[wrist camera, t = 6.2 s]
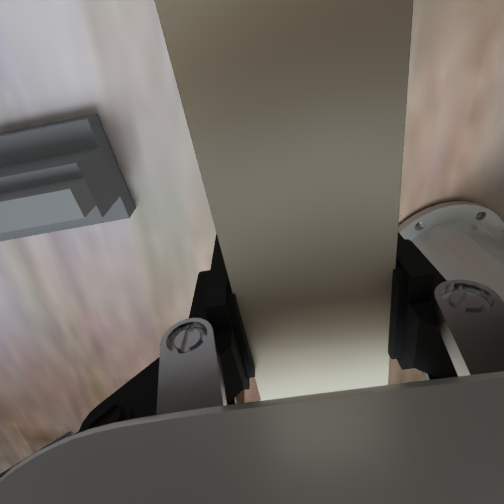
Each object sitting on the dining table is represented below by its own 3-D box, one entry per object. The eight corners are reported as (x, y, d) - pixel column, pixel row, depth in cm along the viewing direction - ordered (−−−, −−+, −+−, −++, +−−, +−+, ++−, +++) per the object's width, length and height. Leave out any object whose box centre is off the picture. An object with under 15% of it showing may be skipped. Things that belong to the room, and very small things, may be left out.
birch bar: (122, -284, 6) (-42, -736, 3) (338, -349, 6) (478, -962, 2) (283, 429, 18) (291, 515, 15) (354, 421, 18) (379, 507, 15)
